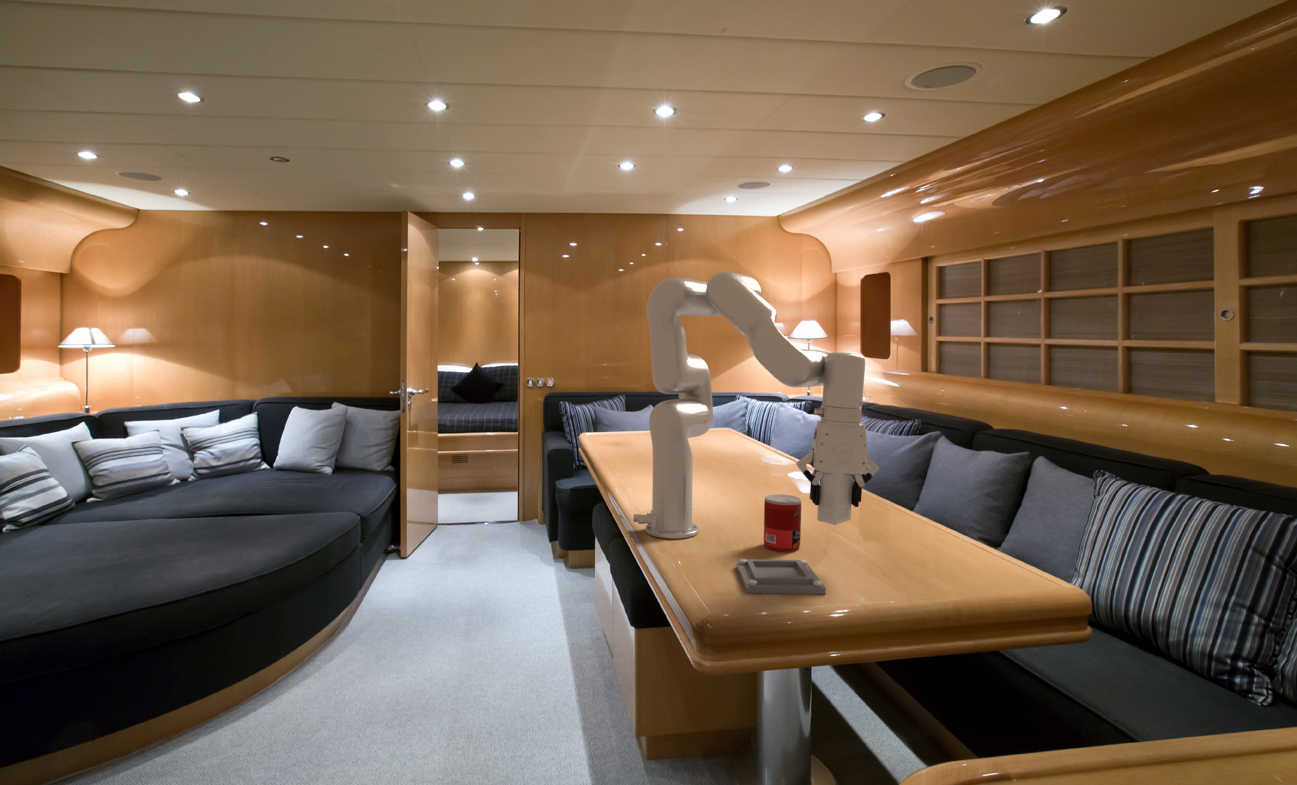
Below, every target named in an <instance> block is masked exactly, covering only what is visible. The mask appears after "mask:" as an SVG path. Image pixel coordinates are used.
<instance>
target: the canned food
mask: <svg viewBox="0 0 1297 785" xmlns="http://www.w3.org/2000/svg"><path fill="white" fill-rule="evenodd" d="M763 508H764V509H763V510H764V512H763V513H764V514H763V544H764V547H765V548H766V549H768V550H771V551H774V552H781V553H791V552H796V551H798V550H799V549H800V547H801V531H802V530H801V529H802V527H801V526H802V498H800V497H799V496H794V495H788V494H768V495H766V496H765V497H764V506H763Z"/></svg>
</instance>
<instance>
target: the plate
mask: <svg viewBox="0 0 1297 785" xmlns="http://www.w3.org/2000/svg"><path fill="white" fill-rule="evenodd" d="M807 562H808V561H806V560H804V559H746V558H745V559H744V558H740V559H738V561H736V563H735V564H736V565H735V566H736V570H737V573H738V574H739V578H740V580H741V582H742V585H743V587H744V589H746V590H745V592H746V594H756V593H762V594H763V595H764V594H767V595H768V594H770V595H771V594H775V595H776V594H777V595H778V594H780V595H826V593H827V591H826V590H827V589H826V586H825V585H824V583H823V582H822V581H821V580H820V578H819V577H818V575H817V574H816V573H815V571H814V570H813V569H812V568H811V566H810V564H808V563H807Z"/></svg>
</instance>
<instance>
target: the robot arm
mask: <svg viewBox="0 0 1297 785" xmlns="http://www.w3.org/2000/svg"><path fill="white" fill-rule="evenodd" d="M647 298H648V299H647V303H646V317H647V323H648V329H649V330H648V332H649V340H650V359H651V373H652V375H651V376H652V381H653V382H652V383H653V385H654V387H655V389H656V390H657V391H658V392H659V393H662V394H668V395H674V394H676V395H677V394H678V398H677V399H675V398H674V399H669V400H668V399H667V400H664V401H661V402H659V403H657V404H656V405H655V406H654V407H653V408H652V410H651V411H650V413H649V419H648V426H649V433H650V438H651V447H652V448H651V450H652V499H651V500H652V505H651V506H652V508H651V510H650V512H646V514H640V513H634V514H633V515H632V516H633V521H632V522H633V523H638V524H639V525H643V524H646V525H645V532H646V534H648V535H649V536H653V537H656V538H662V539H686V538H691V537H694V536H696V535H698V534H699V526H697V525H696V524H694V523H693V481H694V480H693V475H694V474H693V471H694V469H693V468H694V467H693V466H694V465H693V463H694V461H693V460H694V459H693V452H692V448H691V446H690V443H689V439H690V438H696V437H701V436H703V435H705V434H707V433H708V432H709V430H710V428H711V427H712V423H713V420H714V419H713V418H714V407H713V406H714V403H713V390H712V389H713V388H712V377H711V371H710V369H709V365H708V364H707V362H706V361H705V360H704V359H703V358H702V357H700V356H699V355H696V354H693V353H692V354H690V353H688V349H687V336H686V332H685V328H684V326H683V324H682V321H681V320H680V317H681V316H687V317H688V316H690V317H698V318H700V317H701V318H704V317H705V318H707V317H716V316H717V317H718V316H719V317H720V316H723V317H724V318H725V319H726V320H727V321H729V322H728V323H730V324H731V325H732V326H734V328H736V330H737V331H739V333H741V335H743V336H744V337H745V339H746V340H747V344H748V346H749V349H750V351H751V352H752V354H753V356H754V358H755V359H756V361H758V363H760V365H761V366H763V368H764V369H765V370H767V372H769V374H770V375H772V377H773V378H775V379H776V380H777V381H778V382H780V383H782V384H783V385H785V386H787V387H790V388H809V387H810V388H811V387H821V386H822V400H821V401H822V403H821V405H820V407H818V408H814V411H813V414H814V416H818V417H820V420H818V421H817V422H816V426H815V429H814V433H813V434H814V435H813V439H812V445H811V451H810V452H808V453H807V454H806V455H804V456H803V457H802V458H801V459H799V460H797V462H796V467H797V468H798V469H799V471H800V472H801V473H802V475H804V477H805V478H806V479H807V480H808V481H809V482H810V487H809V488H810V489H809V499H810V500H811V503H813V504H814V505H815V506H818V505H819V504H820V490H821V486H820V485H819V484H820V480H821V478H822V476H823V475H824V474H833V473H834V465H835V464H842V474H843V475H853V488H852V503H851V506H853V507H855V508H859V506H860V503H861V502H862V495H863V494H862V492H863V488H864V487H865V485H866V484H867V483H868V482H869V481H871V479H872V478H873V476H875V475H876V473H877V472H878V471H879V470H880V466H879V465H878V464H876V462H874V461H873V460H872V459H871V458H870V457H869V456H868V438H867V437H868V436H867V429H866V428H867V427H866V424H865V423H862V412H863V411H862V410H863V398H864V397H863V396H864V384H865V375H866V373H865V371H866V359H865V356H864V355H862V354H860V353H856V352H841V351H840V352H839V351H838V352H835V351H834V352H829V351H824V350H817V349H805V348H804V349H801V348H798V347H797V346H795V344H794V343H792V341H790V340H789V339H788V338H787V337H786V336H785V335H784V334H783V333H782V332H781V331H780V330H779V329H778V327H777V325H776V321H777V316H778V315H777V310H776V309H775V308H774V307H773V306H772V305H771V304H770V303H769V302H768V301H767V300H766V299H765V298H764V297H762V289H761V287H760V285H759V283H758V281H756V279H755V278H753V277H751V276H750V275H746V274H741V273H737V272H732V271H721V272H717V273H716V274H714V275H712V276H711V278H709V279H708V281H703V280H698V279H694V278H693V279H692V278H688V277H677V276H676V277H669V278H665V279H662V280H661V281H660V282H658V283H657V284H656V285H655V286H654V287H653V289H652V290H651V292H650V294H649V296H648V297H647ZM809 463H810V467H811V468H813V470H812V473H811V471H809V469H808V468H807V465H808V464H809Z"/></svg>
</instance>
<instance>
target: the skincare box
mask: <svg viewBox="0 0 1297 785" xmlns="http://www.w3.org/2000/svg"><path fill="white" fill-rule="evenodd" d="M853 484H854V480H853V475H843V474H842V464H835V465H834V473H833V474H824V475H823V476H822V478H821V480H820V481H819V485H820V486H821V490H820V504H819V505H817V517H816V518H817V521H819V522H822V523H826V524H829V525H833V526H836V525H838V524H842V523H844V522H847V521H850V520H851V517H852V516H851V514H852V504H851V503H852V488H853Z"/></svg>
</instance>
